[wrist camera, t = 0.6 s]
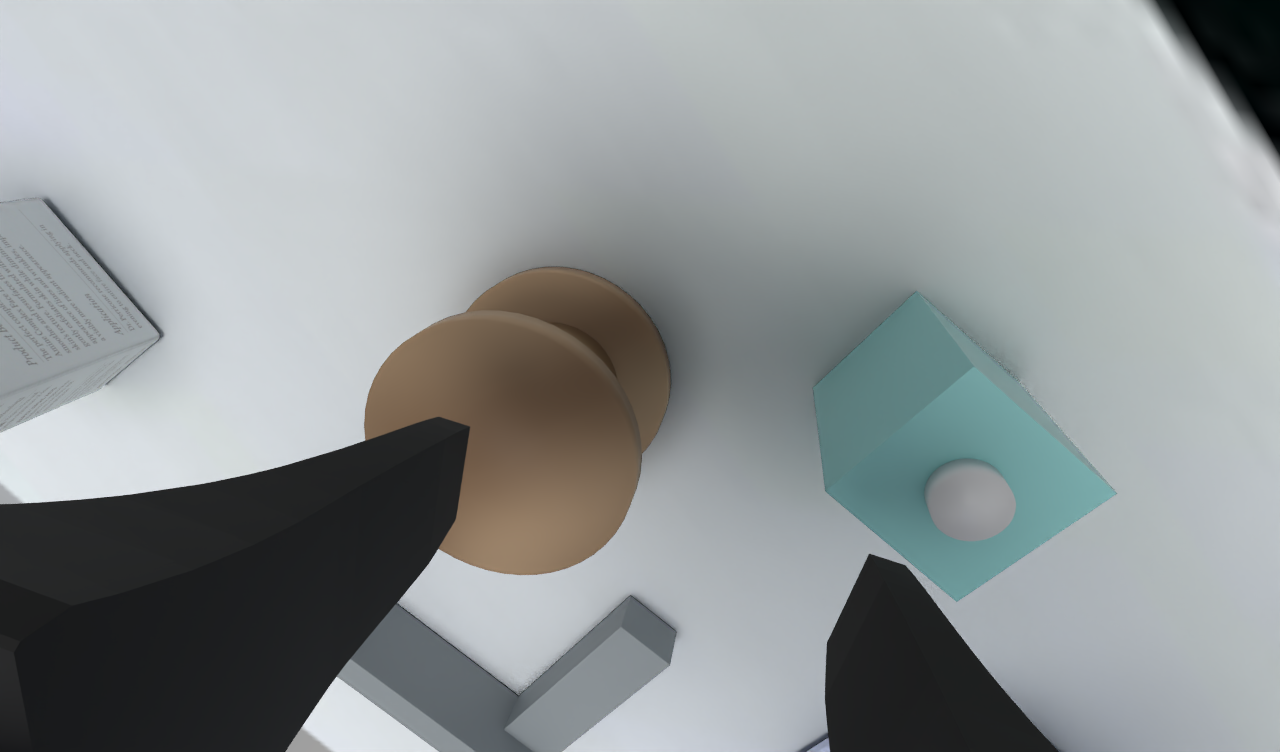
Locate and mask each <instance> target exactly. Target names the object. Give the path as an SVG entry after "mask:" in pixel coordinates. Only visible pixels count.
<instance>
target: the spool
mask: <svg viewBox="0 0 1280 752" xmlns="http://www.w3.org/2000/svg"><path fill="white" fill-rule="evenodd" d="M670 387H671V373H670V365H669V359H668V355H667V352H666V349H665V345H664V343H663V340H662V338H661V336H660V334H659V332H658V330H657V328H656V326H655V325H654V323H653V322H652V320H651V318H650V317H649V316H648V314H647V313H646V312H645V311H644V310H643V308H642V307H641V306H640V305H639V304H638V303H637V302H636V301H635V300H634V299H633V298H632V297H631V296H630V295H628V294H627V293H626V292H624V291H623V290H622V289H620V288H619V287H618V286H616V285H614V284H613V283H611V282H609V281H607V280H606V279H604V278H601V277H599V276H596V275H594V274H592V273H589V272H585V271H581V270H578V269H572V268H565V267H542V268H535V269H530V270H527V271H523V272H520V273H517V274H515V275H513V276H511V277H508V278H506V279H505V280H503V281H502V282H500V283H498V284H497V285H495V286H494V287H492V288H491V289H489V290H487V291H486V292H485V293H483V294H482V295H481V296H480V297H479V298H478V299H477V300H476V301H475V302H474V303H473V304H472V305H471V306H470V308H469V309H468V310H467V311H466V312H465V313H461V314H458V315H454V316H450V317H447V318H445V319H443V320H441V321H438V322H436V323H434V324H432V325H430V326H429V327H427V328H426V329H424V330H422V331H421V332H419V333H418V334H416V335H414V336H413V337H411V338H410V339H408V340H407V341H405V342H404V343H402V344H401V345H400V346H399V347H398V348H397V349H396V350H395V351H394V352H392V353H391V355H390V356H389V357H388V358H387V360H386V361H385V362H384V363H383V365H382V366H381V368H380V369H379V371H378V373H377V375H376V376H375V378H374V380H373V383H372V386H371V388H370V391H369V394H368V398H367V403H366V408H365V422H364V428H365V440H369V439H372V438H375V437H378V436H381V435H384V434H386V433H389V432H392V431H395V430H398V429H401V428H403V427H406V426H409V425H412V424H415V423H418V422H421V421H424V420H428V419H431V418H435V417H442V418H445V419H448V420H451V421H455V422H458V423H461V424H464V425H467V426H470V432H469V438H468V445H467V451H466V458H465V464H464V471H463V477H462V484H461V490H460V497H459V503H458V510H457V516H456V520H455V522H454V524H453V525H452V527H451V529H450V530H449V532H448V534H447V535H446V537H445V538H444V540H443V542H442V543H441V545H440V547H439V549H440V550H442V551H443V552H445V553H447V554H449V555H451V556H452V557H454V558H456V559H458V560H461V561H463V562H465V563H468V564H470V565H473V566H476V567H479V568H482V569H485V570H489V571H494V572H499V573H504V574H515V575H537V574H544V573H551V572H555V571H559V570H562V569H566V568H568V567H571V566H573V565H575V564H578V563H580V562H582V561H584V560H585V559H587V558H589V557H590V556H592V555H594V554H595V553H596V552H597V551H598V550H600V549H601V548H602V547H603V546H604V545H606V543H607V542H608V541H609V540H610V539H611V538H612V537H613V536H614V534H615V533H616V532H617V530H618V529H619V527H620V525H621V524H622V522H623V521H624V519H625V516H626V514H627V512H628V509H629V507H630V505H631V502H632V499H633V497H634V494H635V491H636V489H637V485H638V481H639V477H640V472H641V462H642V453H643V452H644V451H645V450H646V449H647V447H648V446H649V445H650V444H651V442H652V440H653V439H654V437H655V435H656V434H657V432H658V429H659V427H660V425H661V422H662V420H663V417H664V414H665V412H666V409H667V405H668V401H669V396H670Z"/></svg>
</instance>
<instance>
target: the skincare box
mask: <svg viewBox="0 0 1280 752" xmlns="http://www.w3.org/2000/svg"><path fill="white" fill-rule="evenodd" d="M158 339H159V333H158V332H157V330H156V329H155V328H154V327H153V326H152V325H151V324H150V322H149V321H148V320H147V319H146V318H145V317H144V316H143V314H142V313H141V312H140V311H139V310H138V309H137V308H136V306H135V305H134V304H133V303H132V302H131V301H130V300H129V298H128V297H127V296H126V295H125V294H124V293H123V292H122V290H121V289H120V288H119V287H118V286H117V285H116V284H115V282H114V281H113V280H112V279H111V278H110V277H109V276H108V274H107V273H106V272H105V271H104V270H103V269H102V268H101V266H100V265H99V264H98V263H97V262H96V261H95V260H94V258H93V257H92V256H91V255H90V254H89V253H88V252H87V250H86V249H85V248H84V247H83V246H82V245H81V244H80V242H79V241H78V240H77V239H76V238H75V237H74V235H73V234H72V233H71V232H70V231H69V230H68V229H67V227H66V226H65V225H64V224H63V223H62V222H61V221H60V220H59V218H58V217H57V216H56V215H55V214H54V213H53V212H52V210H51V209H50V208H49V207H48V206H47V205H46V204H45V203H44V201H42V200H41V199H40V198H30V199H23V200H16V201H9V202H0V432H3V431H5V430H7V429H10V428H12V427H14V426H17V425H19V424H21V423H24V422H26V421H28V420H30V419H33V418H35V417H37V416H40V415H42V414H44V413H47V412H49V411H51V410H54V409H56V408H58V407H60V406H62V405H65V404H67V403H70V402H72V401H74V400H77V399H79V398H81V397H83V396H86V395H88V394H91V393H93V392H95V391H98V390H99V389H101V388H102V387H103V386H104V385H105V384H106V383H108V382H109V381H110V380H111V379H112V378H113V377H115V376H116V375H117V374H119V373H120V372H121V371H122V370H123V369H125V368H126V367H127V366H128V365H129V364H130V363H131V362H132V361H134V360H135V359H136V358H137V357H138V356H139V355H141V354H142V353H143V352H144V351H145V350H146V349H147V348H149V347H150V346H151V345H152V344H154V343H155V342H156V341H157V340H158Z"/></svg>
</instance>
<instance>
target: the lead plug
mask: <svg viewBox="0 0 1280 752" xmlns="http://www.w3.org/2000/svg"><path fill="white" fill-rule="evenodd" d="M813 393H814V401H815V409H816V418H817V426H818V434H819V443H820V451H821V459H822V467H823V476H824V484H825V491H826V492H827V493H828V494H829V495H830V496H832V497H833V498H834V499H835V500H836V501H837V502H839V503H840V504H841V505H842V506H843V507H845V508H846V509H847V510H848V511H849V512H851V513H852V514H853V515H854V516H855V517H857V518H858V519H859V520H860V521H861V522H862V523H864V524H865V525H866V526H867V527H868V528H870V529H871V530H872V531H873V532H874V533H876V534H877V535H878V536H879V537H880V538H881V539H883V540H884V541H885V542H886V543H887V544H889V545H890V546H891V547H892V548H893V549H895V550H896V551H897V552H898V553H899V554H900V555H902V556H903V557H904V558H905V559H906V560H908V561H909V562H910V563H911V564H912V565H914V566H915V567H916V568H917V569H918V570H919V571H921V572H922V573H923V574H924V575H925V576H927V577H928V578H929V579H930V580H931V581H933V582H934V583H935V584H936V585H937V586H939V587H940V588H941V589H942V590H943V591H944V592H946V593H947V594H948V595H949V596H950V597H952V598H953V599H954V600H955V601H956V602H957V601H959V600H960V599H962V598H963V597H965V596H966V595H968V594H969V593H971V592H972V591H974V590H975V589H977V588H978V587H979V586H981V585H982V584H984V583H985V582H987V581H988V580H990V579H991V578H993V577H994V576H996V575H997V574H999V573H1000V572H1002V571H1003V570H1005V569H1006V568H1008V567H1009V566H1011V565H1012V564H1013V563H1015V562H1016V561H1018V560H1019V559H1021V558H1022V557H1024V556H1025V555H1027V554H1028V553H1030V552H1031V551H1033V550H1034V549H1036V548H1037V547H1039V546H1040V545H1042V544H1043V543H1045V542H1046V541H1047V540H1049V539H1050V538H1052V537H1053V536H1055V535H1056V534H1058V533H1059V532H1061V531H1062V530H1064V529H1065V528H1067V527H1068V526H1070V525H1071V524H1073V523H1074V522H1076V521H1077V520H1078V519H1080V518H1081V517H1083V516H1084V515H1086V514H1087V513H1089V512H1090V511H1092V510H1093V509H1095V508H1096V507H1098V506H1099V505H1101V504H1102V503H1104V502H1105V501H1107V500H1108V499H1110V498H1111V497H1112V496H1114V495H1115V494H1117V493H1116V492H1115V491H1114V489H1113V488H1112V487H1111V486H1110V485H1109V484H1108V483H1107V481H1106V480H1105V479H1104V478H1103V477H1102V476H1101V475H1100V474H1099V472H1098V471H1097V470H1096V469H1095V468H1094V467H1093V466H1092V464H1091V463H1090V462H1089V461H1088V460H1087V459H1086V458H1085V457H1084V455H1083V454H1082V453H1081V452H1080V451H1079V450H1078V449H1077V447H1076V446H1075V445H1074V444H1073V443H1072V442H1071V441H1070V440H1069V438H1068V437H1067V436H1066V435H1065V434H1064V433H1063V432H1062V430H1061V429H1060V428H1059V427H1058V426H1057V425H1056V424H1055V423H1054V421H1053V420H1052V419H1051V418H1050V417H1049V416H1048V415H1047V413H1046V412H1045V411H1044V410H1043V409H1042V408H1041V407H1040V405H1039V404H1038V403H1037V402H1036V401H1035V400H1034V399H1033V398H1032V396H1031V395H1030V394H1029V393H1028V392H1027V391H1026V390H1025V388H1024V387H1023V386H1022V385H1021V384H1020V383H1019V382H1018V381H1017V380H1016V379H1015V378H1014V377H1012V376H1011V375H1010V374H1009V373H1008V372H1007V371H1006V370H1005V369H1004V368H1002V367H1001V366H1000V365H999V364H998V363H997V362H996V361H995V360H993V359H992V358H991V357H990V356H989V355H988V354H987V353H986V352H985V351H983V350H982V349H981V348H980V347H979V346H978V345H977V344H976V343H974V342H973V341H972V340H971V339H970V338H969V337H968V336H967V335H966V334H964V333H963V332H962V331H961V330H960V329H959V328H958V327H957V326H955V325H954V324H953V323H952V322H951V321H950V320H949V319H948V318H947V317H945V316H944V315H943V314H942V313H941V312H940V311H939V310H938V309H936V308H935V307H934V306H933V305H932V304H931V303H930V302H929V301H928V300H926V299H925V298H924V297H923V296H922V295H921V294H920V293H919V292H917V291H916V292H915V293H914V294H913V295H912V296H911V297H910V298H909V299H907V300H906V301H905V302H904V303H903V304H902V305H901V306H900V307H899V308H898V309H897V310H896V311H895V312H894V313H892V314H891V315H890V316H889V317H888V318H887V319H886V320H885V321H884V322H883V323H882V324H881V325H880V326H879V327H878V328H876V329H875V330H874V331H873V332H872V333H871V334H870V335H869V336H868V337H867V338H866V339H865V340H864V341H863V342H861V343H860V344H859V345H858V346H857V347H856V348H855V349H854V350H853V351H852V352H851V353H850V354H849V355H848V356H846V357H845V358H844V359H843V360H842V361H841V362H840V363H839V364H838V365H837V366H836V367H835V368H834V369H833V370H832V371H830V372H829V373H828V374H827V375H826V376H825V377H824V378H823V379H822V380H821V381H820V382H819V383H818V384H817V385H815V386H814V387H813Z"/></svg>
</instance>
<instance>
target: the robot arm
mask: <svg viewBox="0 0 1280 752" xmlns="http://www.w3.org/2000/svg"><path fill="white" fill-rule="evenodd" d="M469 432H470V426H467V425H464V424H461V423H458V422H455V421H451V420H448V419H445V418H442V417H435V418H431V419H428V420H424V421H421V422H418V423H415V424H412V425H409V426H406V427H403V428H401V429H398V430H395V431H392V432H389V433H386V434H384V435H381V436H378V437H375V438H372V439H369V440H366V441H363V442H360V443H357V444H354V445H351V446H348V447H345V448H342V449H339V450H336V451H333V452H329V453H326V454H323V455H319V456H316V457H312V458H309V459H306V460H302V461H299V462H295V463H292V464H289V465H285V466H282V467H278V468H274V469H270V470H266V471H262V472H258V473H254V474H249V475H245V476H240V477H235V478H230V479H225V480H221V481H216V482H211V483H205V484H200V485H193V486H186V487H179V488H173V489H166V490H159V491H152V492H145V493H139V494H132V495H123V496H114V497H104V498H93V499H83V500H70V501H56V502H42V503H24V504H0V752H285V751H286V750H287V748H288V746H289V745H290V744H291V742H292V740H293V739H294V738H295V736H296V735H297V733H298V731H299V730H300V729H301V727H302V726H303V724H304V723H305V721H306V720H307V718H308V717H309V715H310V714H311V712H312V711H313V709H314V708H315V706H316V705H317V703H318V702H319V701H320V699H321V698H322V696H323V695H324V693H325V692H326V690H327V689H328V687H329V686H330V684H331V683H332V682H333V681H334V679H335V678H336V677H337V675H338V674H339V673H340V671H341V670H342V669H343V667H344V666H345V665H346V663H347V662H348V661H349V660H350V659H351V657H352V656H353V655H354V654H355V653H356V651H357V650H358V649H359V648H360V647H361V645H362V644H363V643H364V642H365V640H366V639H367V638H368V637H369V636H370V634H371V633H372V632H373V631H374V630H375V628H376V627H377V626H378V625H379V624H380V622H381V621H382V620H383V619H384V618H385V616H386V615H387V614H388V613H389V612H390V610H391V609H392V608H393V607H394V606H395V604H396V603H397V602H398V601H399V600H400V598H401V597H402V596H403V595H404V593H405V592H406V591H407V590H408V589H409V587H410V586H411V585H412V584H413V582H414V581H415V580H416V579H417V578H418V576H419V575H420V574H421V573H422V571H423V570H424V569H425V568H426V566H427V565H428V564H429V562H430V561H431V559H432V558H433V556H434V554H435V553H436V551H437V550H438V548H439V547H440V545H441V543H442V542H443V540H444V538H445V537H446V535H447V534H448V532H449V530H450V529H451V527H452V525H453V524H454V522H455V520H456V516H457V510H458V503H459V497H460V490H461V484H462V477H463V471H464V464H465V458H466V451H467V445H468V438H469ZM825 705H826V716H827V727H828V737H829V738H827V739H825V740H824V741H822V742H821V743H819V744H817V745H816V746H814V747H813V748H811V749H810V750H808V751H806V752H1059V751H1058V750H1057V749H1056V748H1055V747H1054V746H1053V745H1052V744H1051V743H1050V742H1049V741H1048V740H1047V739H1046V738H1045V737H1044V735H1043V734H1042V733H1041V732H1040V731H1039V730H1038V729H1037V728H1036V727H1035V726H1034V725H1033V723H1032V722H1031V721H1030V720H1029V719H1028V718H1027V717H1026V715H1025V714H1024V713H1023V712H1022V711H1021V710H1020V708H1019V707H1018V706H1017V705H1016V704H1015V703H1014V701H1013V700H1012V699H1011V698H1010V697H1009V696H1008V695H1007V693H1006V692H1005V691H1004V690H1003V689H1002V688H1001V686H1000V685H999V684H998V683H997V681H996V680H995V679H994V678H993V677H992V675H991V674H990V673H989V672H988V671H987V669H986V668H985V667H984V666H983V664H982V663H981V662H980V661H979V659H978V658H977V657H976V656H975V654H974V653H973V652H972V650H971V649H970V648H969V647H968V645H967V644H966V643H965V641H964V640H963V639H962V638H961V636H960V635H959V634H958V632H957V631H956V630H955V628H954V627H953V626H952V624H951V623H950V622H949V621H948V619H947V618H946V617H945V615H944V614H943V613H942V611H941V610H940V609H939V607H938V606H937V605H936V603H935V602H934V601H933V599H932V598H931V597H930V595H929V594H928V593H927V591H926V590H925V589H924V588H923V586H922V585H921V584H920V582H919V581H918V580H917V579H916V577H915V576H914V575H913V574H912V572H911V571H910V570H909V569H908V568H907V567H906V566H905V565H903V564H900V563H896V562H893V561H890V560H887V559H884V558H881V557H878V556H875V555H871V554H869V555H868V557H867V560H866V562H865V564H864V566H863V568H862V570H861V572H860V574H859V577H858V579H857V581H856V583H855V585H854V587H853V589H852V591H851V593H850V596H849V598H848V600H847V602H846V604H845V606H844V608H843V610H842V612H841V615H840V617H839V619H838V621H837V623H836V625H835V627H834V629H833V631H832V634H831V636H830V638H829V640H828V642H827V654H826V679H825Z"/></svg>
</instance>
